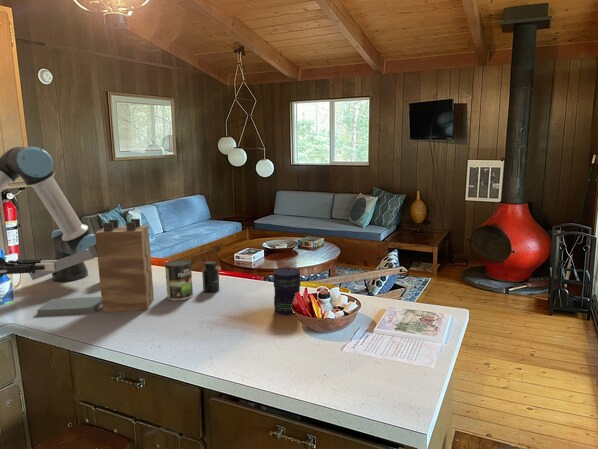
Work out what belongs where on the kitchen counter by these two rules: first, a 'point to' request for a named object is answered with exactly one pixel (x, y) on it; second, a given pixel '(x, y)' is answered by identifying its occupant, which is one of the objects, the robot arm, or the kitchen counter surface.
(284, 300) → the storage jar
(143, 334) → the kitchen counter surface
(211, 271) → the supplement bottle
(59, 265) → the grey bar
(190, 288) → the coffee can
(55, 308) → the gray block
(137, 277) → the brown wooden tall block
